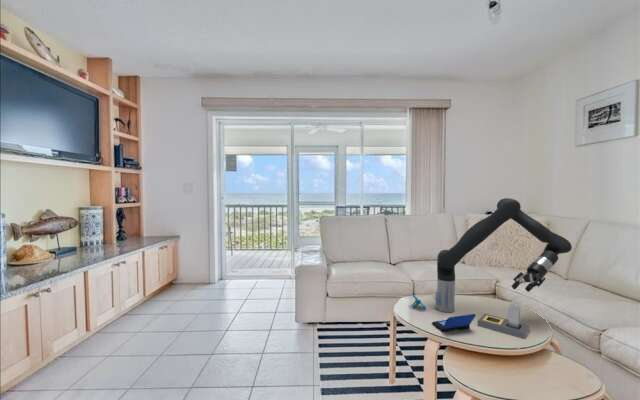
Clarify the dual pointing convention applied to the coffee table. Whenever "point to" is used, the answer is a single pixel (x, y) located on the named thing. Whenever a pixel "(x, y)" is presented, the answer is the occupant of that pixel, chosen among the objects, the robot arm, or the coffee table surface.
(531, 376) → the coffee table surface
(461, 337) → the coffee table surface
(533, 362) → the coffee table surface
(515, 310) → the brushed steel peg
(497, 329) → the plate with square holes
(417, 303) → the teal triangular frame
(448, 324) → the handheld game console
